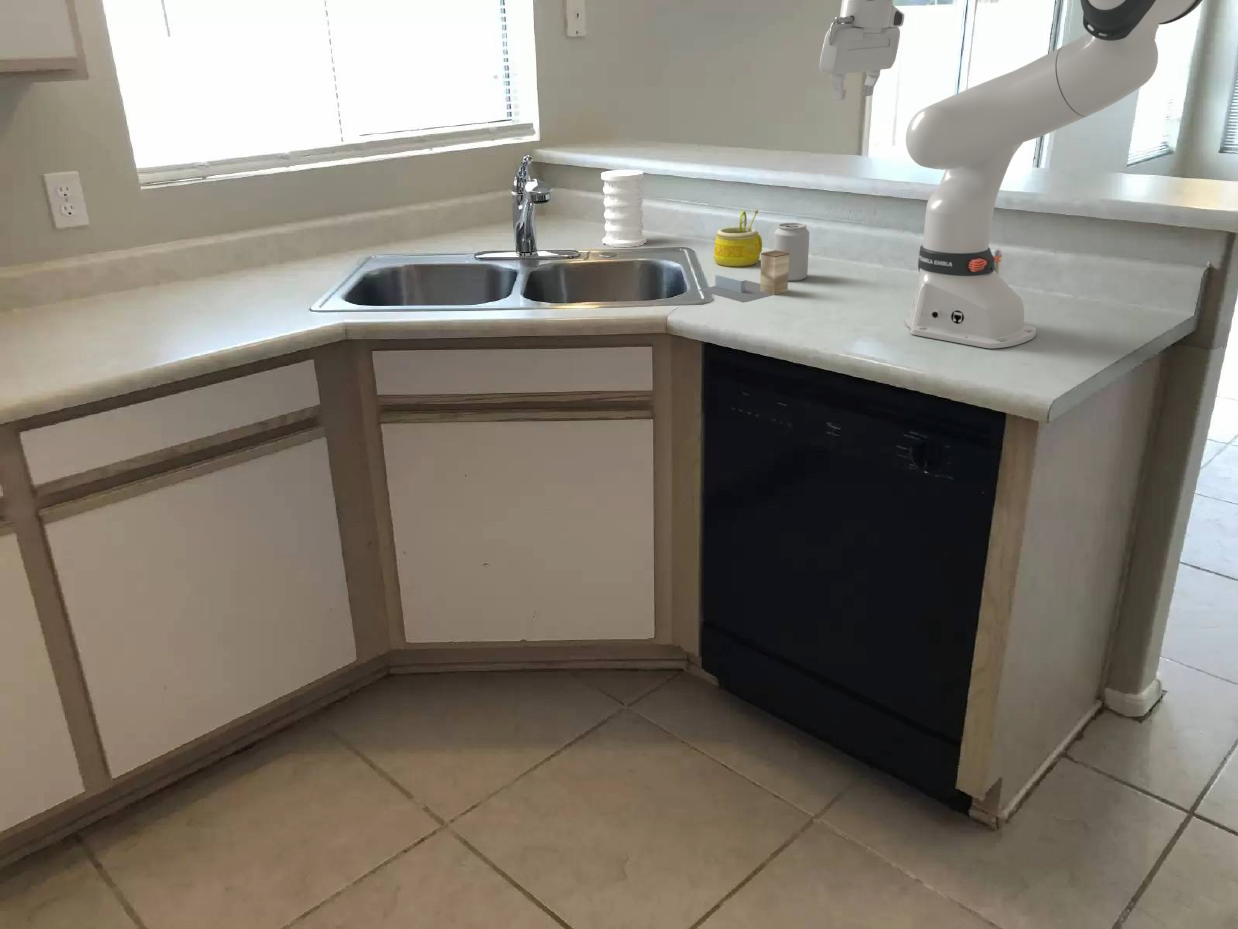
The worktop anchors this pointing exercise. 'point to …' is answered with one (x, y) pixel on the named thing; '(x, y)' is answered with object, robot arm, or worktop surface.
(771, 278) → the block
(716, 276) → the strip
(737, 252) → the yellow pot
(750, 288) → the mat
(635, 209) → the decorative container
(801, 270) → the can
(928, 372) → the worktop surface
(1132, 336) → the worktop surface
